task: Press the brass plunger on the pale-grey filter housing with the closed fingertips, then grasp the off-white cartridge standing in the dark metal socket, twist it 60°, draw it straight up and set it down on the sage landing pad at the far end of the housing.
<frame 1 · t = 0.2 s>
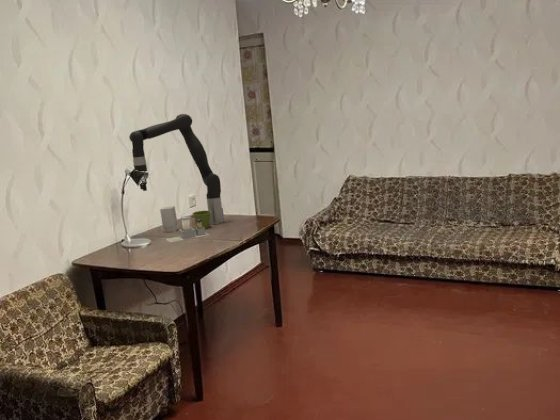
hand: (143, 190, 328), 29 cm above the table, fingers open, 8 cm apart
skincare box: (170, 231, 340), on the table
housing: (187, 239, 314), on the table
plunger: (199, 225, 316), point 7 cm above the table, slide at 0.0 cm
plant pot: (203, 230, 335), on the table
cartridge: (187, 236, 314), point 1 cm above the table, touching housing
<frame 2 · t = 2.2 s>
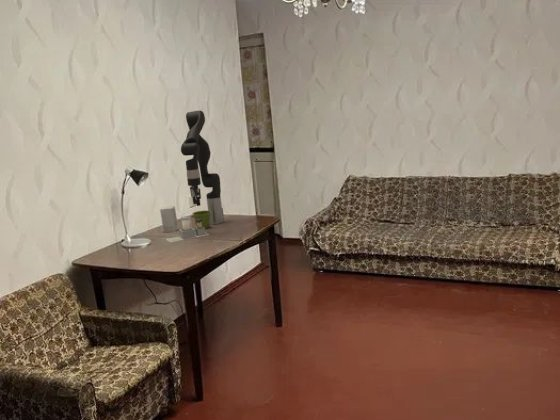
hand: (196, 204, 313), 20 cm above the table, fingers open, 6 cm apart
nothing on the table moved.
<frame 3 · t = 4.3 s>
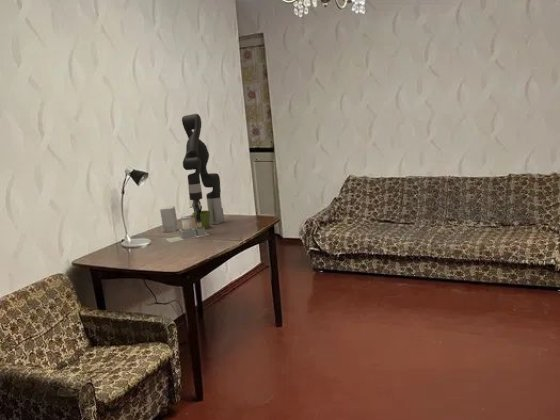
hand: (198, 219, 315), 11 cm above the table, fingers closed
plunger: (199, 225, 316), point 7 cm above the table, slide at 0.1 cm, touching gripper
everything else where it was.
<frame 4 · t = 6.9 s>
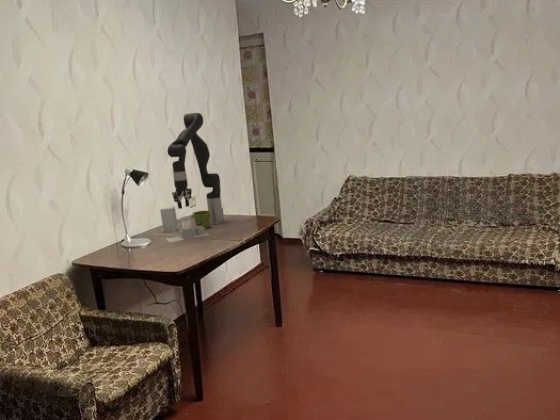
hand: (183, 207, 310), 19 cm above the table, fingers open, 5 cm apart
plunger: (199, 228, 316), point 5 cm above the table, slide at 2.0 cm
everything else where it was.
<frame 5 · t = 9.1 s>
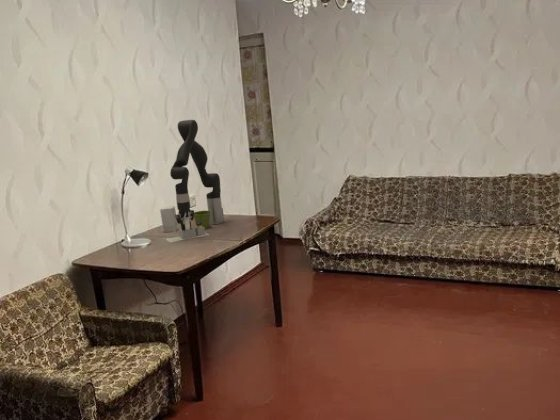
hand: (186, 229, 313), 6 cm above the table, fingers closed on cartridge, 4 cm apart
cartridge: (187, 236, 314), point 1 cm above the table, touching gripper, housing
everything else where it was.
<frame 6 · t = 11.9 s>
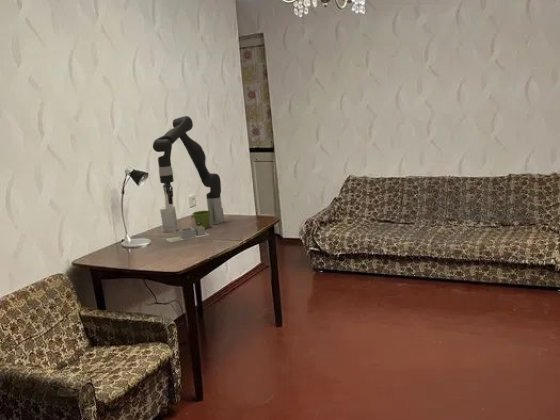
hand: (169, 203, 306), 23 cm above the table, fingers closed on cartridge, 4 cm apart
cartridge: (169, 211, 307), point 18 cm above the table, touching gripper
everything else where it was.
when the fingers open (8 cm above the table, at t = 15.1 s): cartridge drops 1 cm, resting on housing.
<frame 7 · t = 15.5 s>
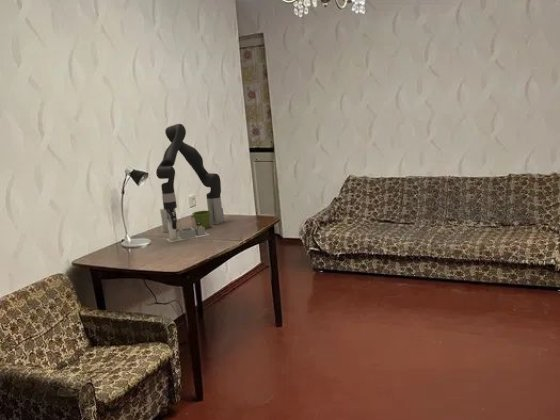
hand: (172, 227, 309), 8 cm above the table, fingers open, 7 cm apart
cartridge: (173, 239, 310), point 2 cm above the table, touching housing
everything else where it was.
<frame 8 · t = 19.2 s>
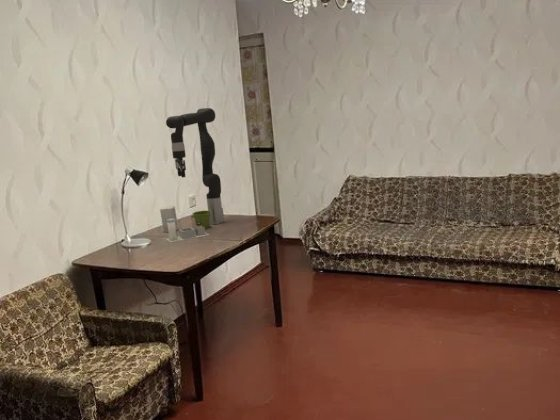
hand: (181, 176, 319), 36 cm above the table, fingers open, 8 cm apart
nothing on the table moved.
at the end: cartridge 0.7 cm from the target spot on the housing, point 1.7 cm above the housing's base; cartridge tilted 1°; plunger slide at 2.0 cm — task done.
